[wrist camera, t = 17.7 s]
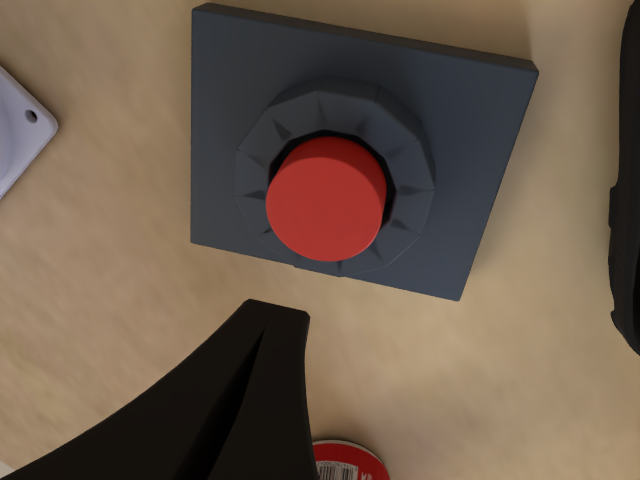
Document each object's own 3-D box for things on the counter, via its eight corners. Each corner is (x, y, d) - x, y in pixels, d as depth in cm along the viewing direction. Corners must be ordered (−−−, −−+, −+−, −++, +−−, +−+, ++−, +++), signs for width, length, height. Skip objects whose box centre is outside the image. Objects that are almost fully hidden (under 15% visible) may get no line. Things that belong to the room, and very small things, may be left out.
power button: (274, 222, 19) (261, 248, 18) (284, 125, 17) (270, 145, 16) (375, 244, 19) (370, 272, 17) (397, 147, 17) (393, 170, 15)
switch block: (202, 226, 23) (171, 268, 20) (206, 1, 18) (166, 17, 16) (458, 282, 22) (461, 333, 20) (533, 60, 17) (551, 87, 15)
